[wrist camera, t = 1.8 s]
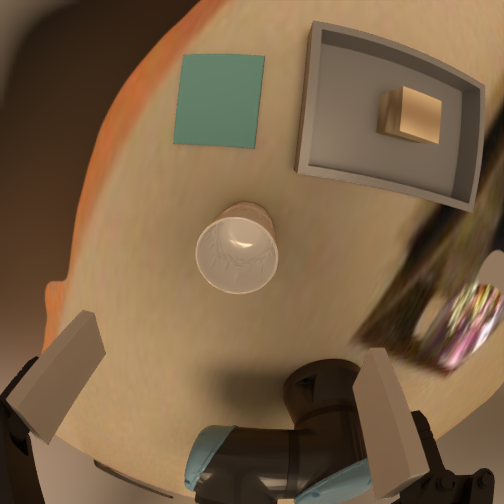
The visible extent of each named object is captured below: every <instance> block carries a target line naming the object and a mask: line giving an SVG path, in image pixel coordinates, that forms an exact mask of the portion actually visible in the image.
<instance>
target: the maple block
mask: <svg viewBox="0 0 504 504" xmlns="http://www.w3.org/2000/svg"><path fill="white" fill-rule="evenodd" d="M441 104H442V101H440V100H438V99H435V98H433V97H430V96H428V95H426V94H423V93H421V92H418V91H415V90H413V89H410V88H407V87H404V86H402V87H400V88H397V89H395V90H392V91H390V92H387V93H385V94H383V95H380V96H379V109H378V119H377V129H376V133H378V134H382V135H386V136H390V137H393V138H397V139H400V140H403V141H407V142H410V143H430V144H438V143H439V133H440V121H441Z"/></svg>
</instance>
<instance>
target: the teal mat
mask: <svg viewBox="0 0 504 504" xmlns="http://www.w3.org/2000/svg"><path fill="white" fill-rule="evenodd" d="M264 58H265V57H264V56H258V55H240V54H194V55H184V57H183V63H182V70H181V77H180V84H179V92H178V100H177V110H176V119H175V130H174V142H173V144H197V145H215V146H230V147H242V148H252V149H254V148H255V139H256V130H257V121H258V112H259V103H260V94H261V85H262V76H263V67H264Z"/></svg>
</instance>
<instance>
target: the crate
mask: <svg viewBox="0 0 504 504" xmlns="http://www.w3.org/2000/svg"><path fill="white" fill-rule="evenodd" d="M402 86H404V87H407V88H410V89H413V90H415V91H418V92H421V93H423V94H426V95H428V96H430V97H433V98H435V99H438V100H440V101H442V104H441V121H440V133H439V143H438V144H430V143H410V142H407V141H403V140H400V139H397V138H393V137H390V136H386V135H382V134H378V133H376V129H377V119H378V109H379V96H380V95H383V94H385V93H387V92H390V91H392V90H395V89H397V88H400V87H402ZM484 127H485V85H483V84H482V83H480V82H478V81H477V80H475V79H473V78H472V77H470V76H468V75H466V74H465V73H463V72H461V71H459V70H457V69H456V68H454V67H452V66H450V65H448V64H446V63H444V62H442V61H440V60H438V59H435V58H433V57H431V56H429V55H427V54H424V53H422V52H420V51H417V50H415V49H412V48H410V47H407V46H405V45H402V44H399V43H397V42H394V41H391V40H388V39H385V38H382V37H379V36H376V35H373V34H369V33H366V32H362V31H359V30H355V29H351V28H347V27H343V26H338V25H334V24H329V23H324V22H319V21H313V23H312V26H311V29H310V32H309V35H308V44H307V56H306V67H305V78H304V88H303V98H302V107H301V116H300V125H299V134H298V142H297V151H296V159H295V167H294V170H295V171H296V173H297V174H303V175H310V176H316V177H322V178H328V179H334V180H340V181H345V182H351V183H356V184H361V185H366V186H371V187H376V188H380V189H385V190H389V191H394V192H398V193H402V194H406V195H411V196H415V197H419V198H422V199H426V200H430V201H434V202H437V203H441V204H445V205H448V206H452V207H455V208H458V209H462V210H465V211H468V212H471V213H472V212H473V207H474V203H475V198H476V192H477V187H478V181H479V175H480V168H481V161H482V152H483V142H484Z"/></svg>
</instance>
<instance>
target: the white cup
mask: <svg viewBox="0 0 504 504" xmlns="http://www.w3.org/2000/svg"><path fill="white" fill-rule="evenodd" d="M195 257H196V263H197V266H198V268H199V271H200V272H201V274H202V276H203V277H204V278H205V279H206V280H207V281H208V282H209V283H210V284H211V285H212V286H214V287H215V288H217V289H219V290H221V291H223V292H226V293H231V294H247V293H251V292H254V291H257V290H259V289H261V288H262V287H264V286H265V285H266V284H267V283H268V282H269V281H270V280H271V279H272V277H273V275H274V274H275V272H276V269H277V265H278V249H277V242H276V236H275V231H274V227H273V224H272V220H271V218H270V216H269V215H268V213H267V212H266V210H265V209H263V208H262V207H260V206H258V205H257V204H255V203H249V202H241V203H238V204H235V205H232V206H230V207H229V208H228V209H227V210H225V211H224V212H223V213H221V214H220V215H219V216H218V217H217V218H216V219H215V220H214V221H213V222H212V223H211V224H210V225H209V226H208V227H207V228H206V229H205V230H204V231H203V232H202V234H201V235H200V237H199V239H198V241H197V245H196V250H195Z"/></svg>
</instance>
